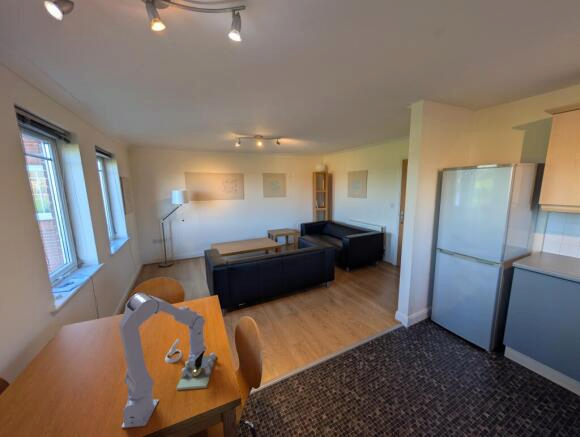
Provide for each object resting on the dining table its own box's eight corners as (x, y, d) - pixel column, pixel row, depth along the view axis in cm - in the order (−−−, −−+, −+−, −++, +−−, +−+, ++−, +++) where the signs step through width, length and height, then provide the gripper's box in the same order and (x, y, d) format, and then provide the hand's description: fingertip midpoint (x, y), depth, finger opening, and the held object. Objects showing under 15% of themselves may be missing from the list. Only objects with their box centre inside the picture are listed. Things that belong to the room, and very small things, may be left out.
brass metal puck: (200, 377, 95) (200, 372, 95) (190, 378, 95) (190, 374, 95) (202, 369, 99) (202, 365, 99) (193, 370, 99) (192, 366, 99)
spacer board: (206, 387, 92) (205, 379, 91) (176, 390, 90) (175, 381, 90) (216, 356, 108) (215, 349, 108) (191, 358, 107) (190, 351, 107)
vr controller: (186, 353, 104) (172, 348, 102) (174, 369, 106) (160, 364, 104) (191, 339, 111) (178, 334, 109) (180, 355, 113) (167, 350, 111)
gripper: (200, 350, 91) (202, 379, 93) (210, 328, 106) (211, 354, 107) (183, 351, 91) (185, 381, 93) (195, 329, 105) (196, 355, 107)
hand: (198, 366), depth 100 cm, fingers closed
